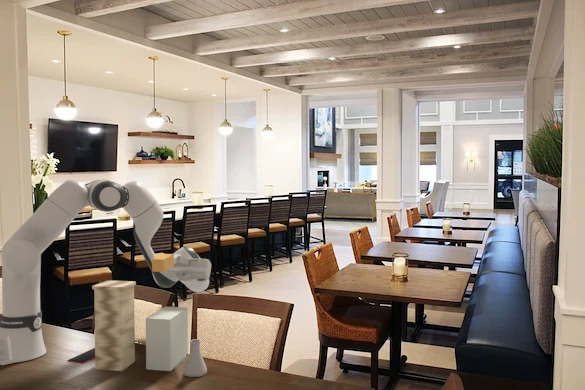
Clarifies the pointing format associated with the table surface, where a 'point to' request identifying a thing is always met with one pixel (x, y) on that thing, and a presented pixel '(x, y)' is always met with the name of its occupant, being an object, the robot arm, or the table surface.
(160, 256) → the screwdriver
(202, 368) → the flask
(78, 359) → the smartphone
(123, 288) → the high stand
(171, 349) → the pale green block
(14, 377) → the table surface
